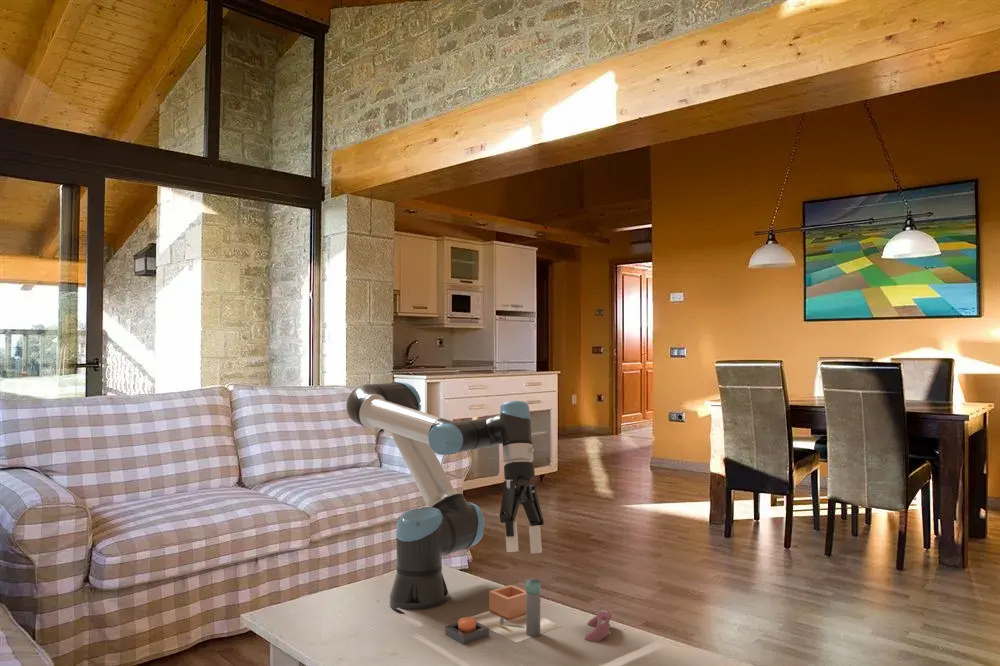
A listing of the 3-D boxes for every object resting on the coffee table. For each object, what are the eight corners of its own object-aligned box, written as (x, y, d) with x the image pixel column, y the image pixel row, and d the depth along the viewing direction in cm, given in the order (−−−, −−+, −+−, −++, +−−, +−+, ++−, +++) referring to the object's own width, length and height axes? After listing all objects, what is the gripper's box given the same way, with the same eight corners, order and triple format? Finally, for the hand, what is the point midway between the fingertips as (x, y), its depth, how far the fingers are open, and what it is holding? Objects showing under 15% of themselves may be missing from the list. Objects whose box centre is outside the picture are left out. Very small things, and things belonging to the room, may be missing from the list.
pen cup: (489, 611, 173) (489, 591, 173) (511, 604, 177) (511, 584, 177) (508, 620, 167) (507, 599, 167) (530, 613, 172) (530, 592, 172)
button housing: (445, 639, 159) (445, 626, 159) (470, 631, 164) (470, 618, 164) (463, 650, 154) (463, 636, 154) (488, 641, 158) (488, 628, 158)
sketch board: (461, 622, 169) (461, 617, 169) (512, 606, 179) (512, 601, 179) (515, 650, 153) (515, 645, 153) (567, 631, 164) (567, 626, 164)
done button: (454, 628, 159) (454, 620, 159) (468, 624, 162) (468, 615, 162) (465, 634, 156) (465, 625, 156) (479, 629, 159) (479, 621, 159)
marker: (523, 633, 160) (522, 580, 160) (533, 629, 162) (533, 577, 162) (532, 638, 157) (532, 584, 157) (543, 634, 159) (543, 581, 159)
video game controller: (600, 654, 155) (614, 627, 155) (581, 643, 156) (595, 616, 155) (602, 636, 165) (616, 610, 164) (585, 626, 166) (598, 600, 165)
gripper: (510, 454, 163) (516, 549, 155) (551, 467, 184) (559, 552, 176) (481, 458, 166) (486, 552, 158) (525, 471, 187) (531, 554, 179)
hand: (524, 552), depth 167 cm, fingers open, 13 cm apart
